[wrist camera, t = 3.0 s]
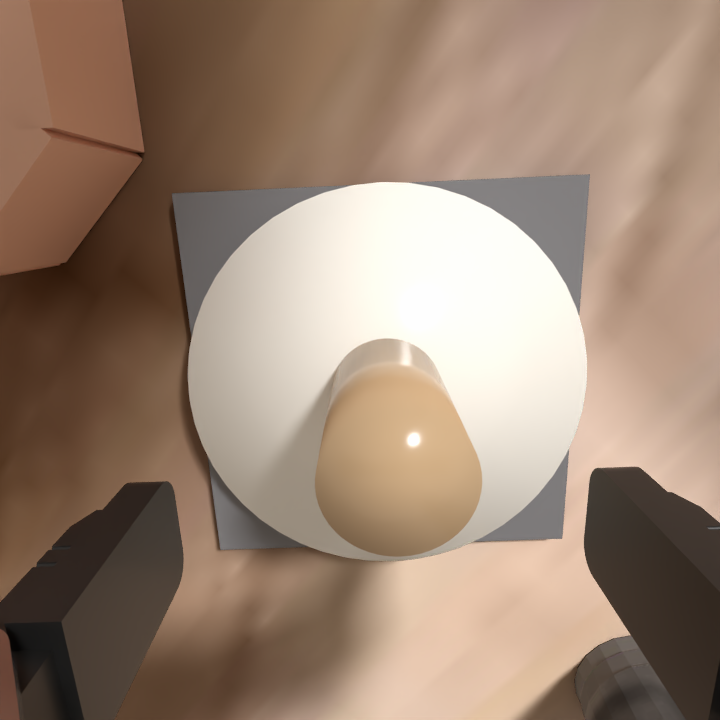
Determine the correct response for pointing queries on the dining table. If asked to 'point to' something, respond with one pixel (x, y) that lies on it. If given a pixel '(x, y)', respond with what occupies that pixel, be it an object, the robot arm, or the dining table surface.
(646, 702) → the beverage cup
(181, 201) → the mat
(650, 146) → the dining table surface
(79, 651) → the robot arm
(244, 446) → the lid
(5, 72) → the bowl
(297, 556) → the dining table surface
